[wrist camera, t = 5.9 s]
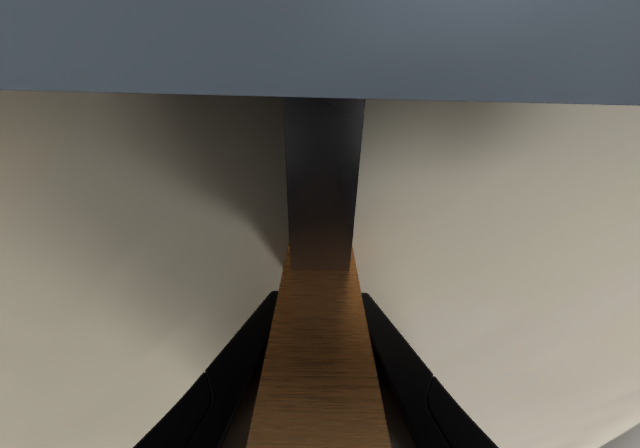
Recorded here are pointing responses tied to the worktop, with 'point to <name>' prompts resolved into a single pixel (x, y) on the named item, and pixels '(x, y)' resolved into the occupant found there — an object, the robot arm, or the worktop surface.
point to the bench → (328, 48)
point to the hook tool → (320, 295)
